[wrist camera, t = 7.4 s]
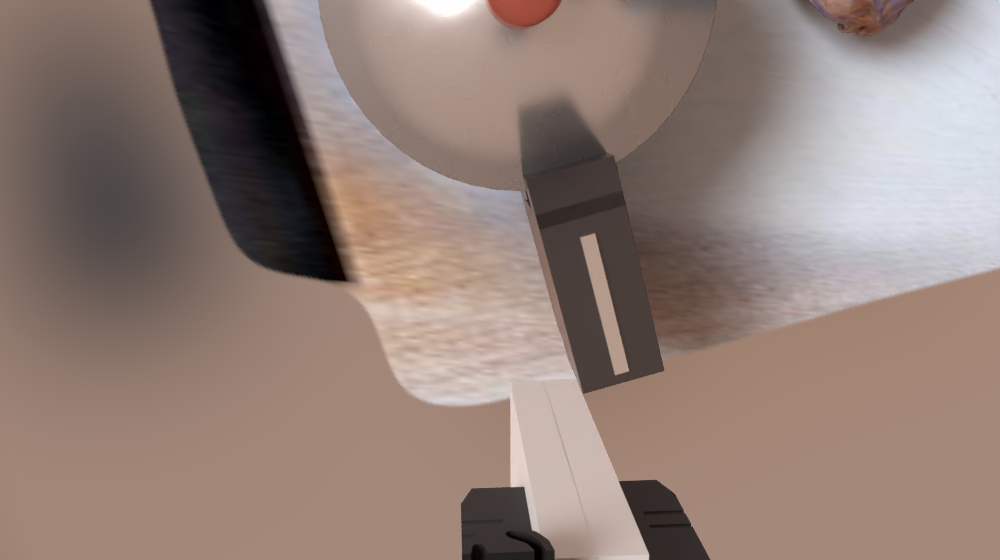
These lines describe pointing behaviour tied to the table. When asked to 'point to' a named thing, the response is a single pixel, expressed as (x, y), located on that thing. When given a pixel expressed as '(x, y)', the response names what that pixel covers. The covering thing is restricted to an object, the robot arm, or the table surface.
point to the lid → (537, 130)
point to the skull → (861, 14)
